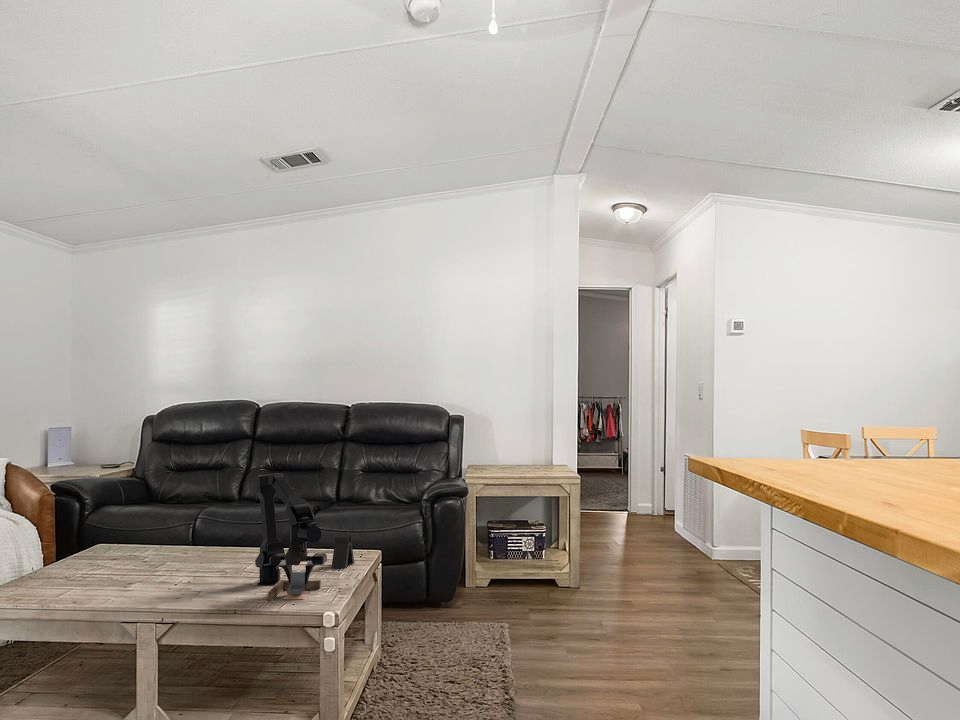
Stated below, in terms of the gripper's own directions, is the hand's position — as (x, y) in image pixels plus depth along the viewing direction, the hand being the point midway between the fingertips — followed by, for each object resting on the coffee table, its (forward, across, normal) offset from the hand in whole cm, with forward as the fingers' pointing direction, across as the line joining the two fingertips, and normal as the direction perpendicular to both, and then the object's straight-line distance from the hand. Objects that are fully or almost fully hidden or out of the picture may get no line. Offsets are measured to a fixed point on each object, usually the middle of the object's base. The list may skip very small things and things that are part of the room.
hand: (298, 583), depth 236 cm
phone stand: (+4, +7, +38) cm, 39 cm away
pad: (+4, 0, -2) cm, 4 cm away
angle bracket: (+2, 0, -2) cm, 3 cm away
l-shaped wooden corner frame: (+4, -1, -1) cm, 4 cm away
